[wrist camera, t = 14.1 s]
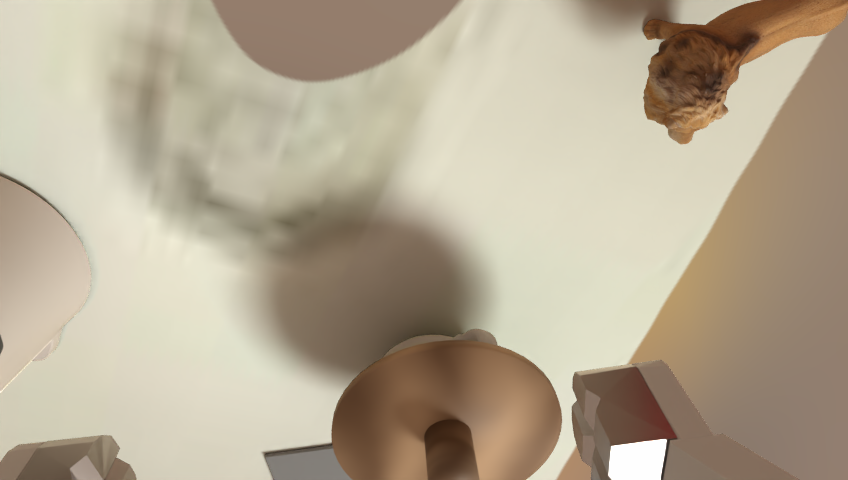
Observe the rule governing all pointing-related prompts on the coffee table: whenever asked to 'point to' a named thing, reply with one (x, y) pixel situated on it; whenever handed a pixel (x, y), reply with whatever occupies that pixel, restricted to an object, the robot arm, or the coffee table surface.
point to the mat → (306, 464)
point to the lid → (447, 415)
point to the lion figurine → (722, 56)
